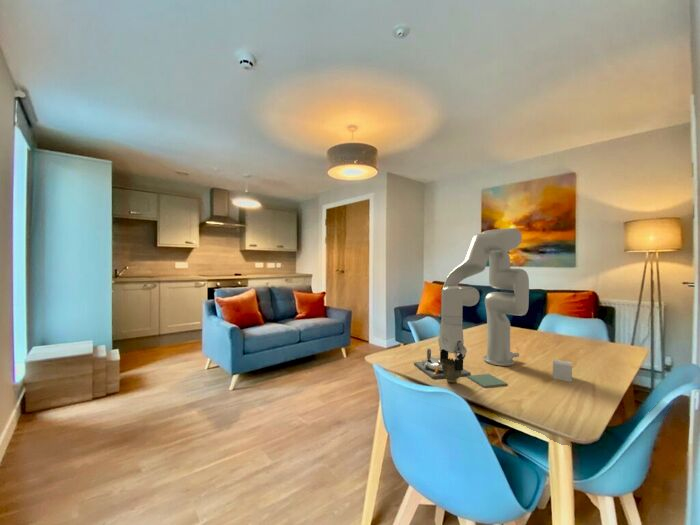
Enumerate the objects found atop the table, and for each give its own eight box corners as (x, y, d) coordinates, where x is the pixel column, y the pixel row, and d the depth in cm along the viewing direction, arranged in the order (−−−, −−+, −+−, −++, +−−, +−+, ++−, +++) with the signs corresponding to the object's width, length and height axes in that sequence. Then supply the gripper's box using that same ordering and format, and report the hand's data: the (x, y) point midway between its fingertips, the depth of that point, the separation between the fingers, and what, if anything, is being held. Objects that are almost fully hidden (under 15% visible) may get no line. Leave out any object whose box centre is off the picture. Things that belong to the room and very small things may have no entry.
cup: (463, 387, 109) (463, 364, 109) (442, 385, 111) (442, 363, 111) (460, 379, 116) (460, 358, 116) (440, 377, 118) (440, 357, 118)
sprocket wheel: (427, 358, 137) (427, 344, 137) (463, 364, 130) (463, 349, 130) (417, 368, 124) (417, 353, 124) (456, 375, 116) (456, 359, 116)
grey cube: (552, 378, 118) (552, 363, 118) (553, 374, 123) (553, 359, 123) (571, 382, 114) (571, 366, 114) (571, 377, 119) (571, 362, 119)
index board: (447, 361, 137) (447, 359, 137) (470, 375, 121) (470, 371, 121) (413, 364, 133) (413, 361, 133) (432, 378, 117) (432, 375, 117)
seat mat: (488, 375, 121) (488, 373, 121) (507, 385, 111) (507, 383, 111) (466, 377, 118) (466, 375, 118) (483, 387, 109) (483, 385, 109)
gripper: (431, 316, 121) (430, 359, 121) (455, 324, 104) (455, 374, 104) (448, 316, 123) (447, 358, 123) (475, 324, 106) (474, 373, 106)
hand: (451, 365), depth 113 cm, fingers open, 9 cm apart
